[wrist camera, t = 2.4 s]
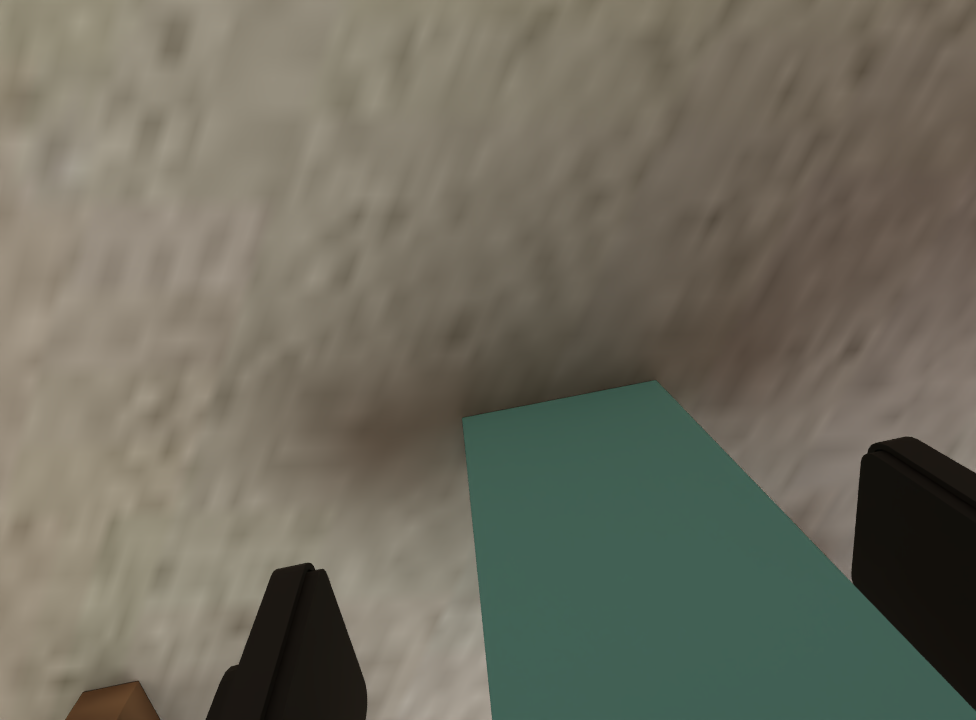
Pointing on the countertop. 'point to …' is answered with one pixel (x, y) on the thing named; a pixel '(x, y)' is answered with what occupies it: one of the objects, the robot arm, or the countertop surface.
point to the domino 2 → (664, 580)
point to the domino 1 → (114, 704)
